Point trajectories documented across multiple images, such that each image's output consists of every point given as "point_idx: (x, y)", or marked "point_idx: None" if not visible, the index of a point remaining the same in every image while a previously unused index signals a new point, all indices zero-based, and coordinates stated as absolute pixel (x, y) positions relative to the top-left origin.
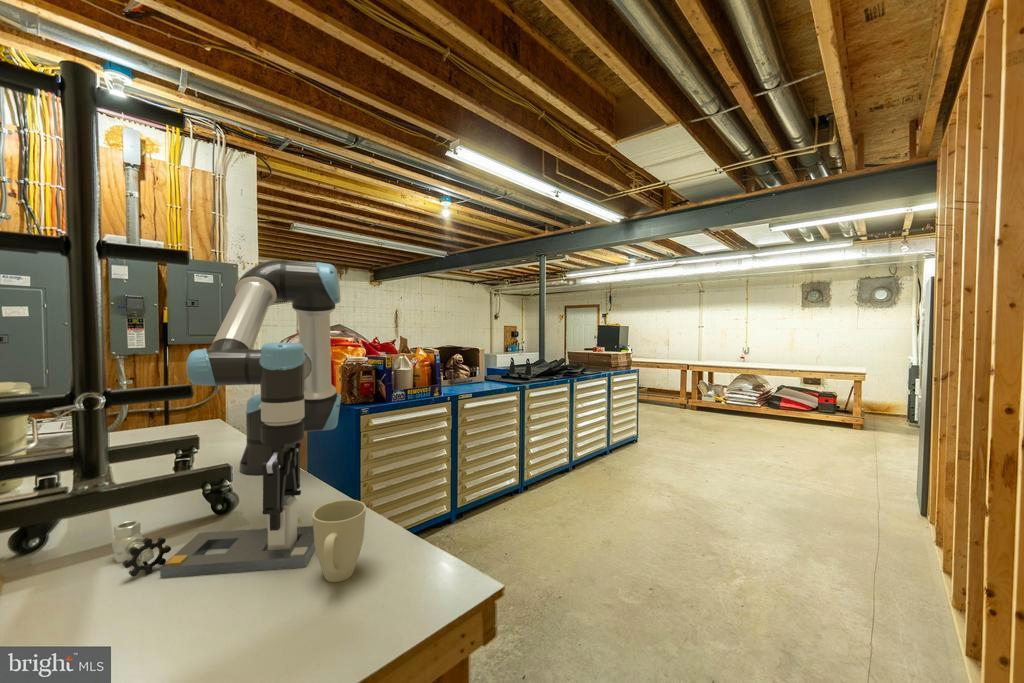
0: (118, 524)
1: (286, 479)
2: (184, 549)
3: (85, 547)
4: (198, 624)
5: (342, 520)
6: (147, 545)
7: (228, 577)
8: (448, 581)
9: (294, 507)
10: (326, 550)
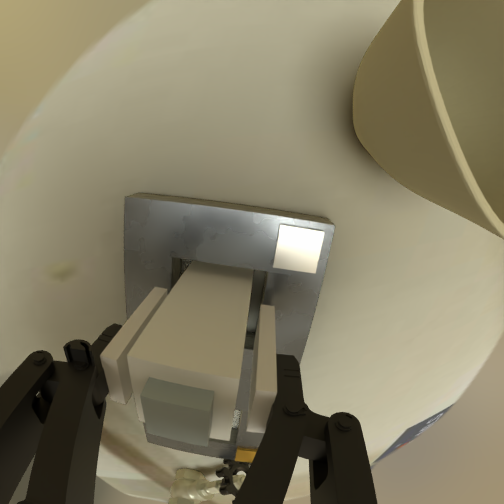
0: None
1: (87, 464)
2: (208, 452)
3: (163, 490)
4: (428, 366)
5: None
6: None
7: (305, 375)
8: None
9: (177, 345)
10: None
